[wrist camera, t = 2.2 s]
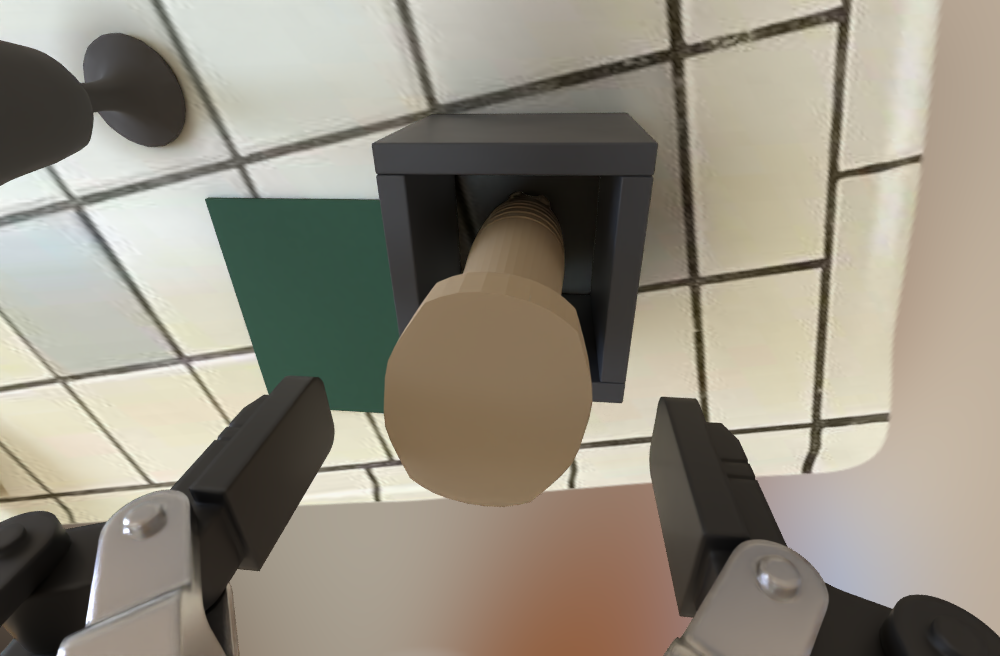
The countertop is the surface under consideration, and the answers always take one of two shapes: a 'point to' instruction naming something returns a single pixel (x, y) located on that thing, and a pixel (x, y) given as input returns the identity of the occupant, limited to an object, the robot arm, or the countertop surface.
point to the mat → (313, 291)
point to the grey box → (522, 151)
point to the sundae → (83, 101)
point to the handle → (493, 368)
